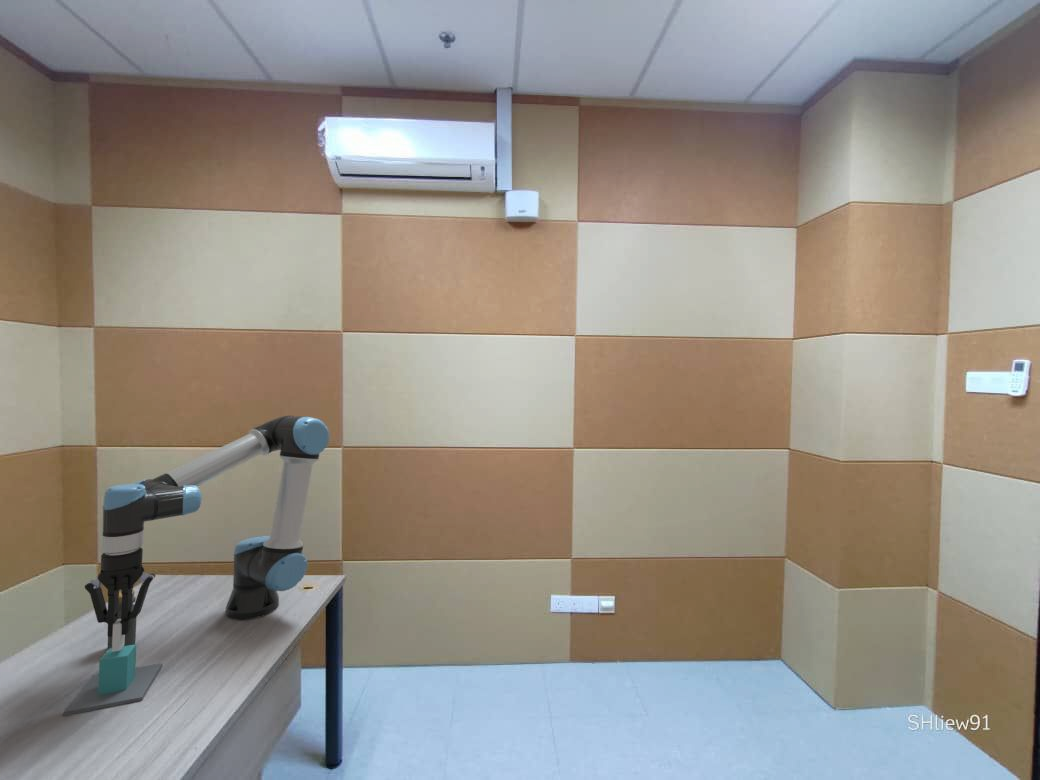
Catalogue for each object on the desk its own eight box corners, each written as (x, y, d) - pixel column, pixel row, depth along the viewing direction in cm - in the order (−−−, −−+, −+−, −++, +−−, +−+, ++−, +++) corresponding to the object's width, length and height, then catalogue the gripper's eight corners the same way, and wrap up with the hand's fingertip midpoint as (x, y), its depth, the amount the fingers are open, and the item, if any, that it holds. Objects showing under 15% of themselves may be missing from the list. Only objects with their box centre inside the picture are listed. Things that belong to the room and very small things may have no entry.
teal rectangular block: (134, 676, 111) (136, 644, 111) (126, 689, 107) (127, 655, 107) (107, 681, 109) (109, 648, 109) (98, 694, 104) (99, 660, 105)
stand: (162, 666, 117) (163, 639, 117) (142, 700, 104) (143, 670, 104) (92, 678, 111) (94, 649, 112) (62, 715, 99) (63, 683, 99)
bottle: (118, 654, 121) (120, 599, 121) (101, 651, 122) (103, 596, 123) (140, 643, 127) (143, 590, 127) (124, 640, 128) (126, 587, 128)
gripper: (161, 542, 114) (157, 635, 114) (94, 547, 109) (90, 645, 109) (150, 552, 107) (146, 651, 107) (79, 558, 102) (74, 662, 102)
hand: (118, 648), depth 108 cm, fingers closed
